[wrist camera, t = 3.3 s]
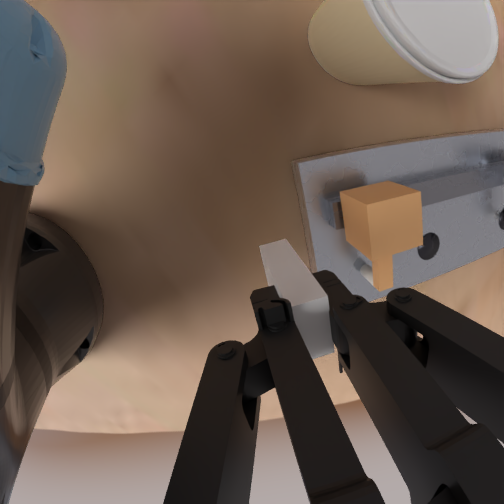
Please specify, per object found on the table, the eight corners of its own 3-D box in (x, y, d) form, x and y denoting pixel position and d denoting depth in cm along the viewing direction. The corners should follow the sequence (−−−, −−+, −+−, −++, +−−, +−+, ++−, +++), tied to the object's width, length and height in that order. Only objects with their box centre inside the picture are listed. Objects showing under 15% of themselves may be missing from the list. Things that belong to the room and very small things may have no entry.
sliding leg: (344, 282, 25) (374, 317, 20) (331, 188, 23) (366, 204, 17) (386, 268, 26) (422, 298, 21) (378, 177, 23) (420, 191, 18)
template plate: (316, 305, 29) (350, 358, 21) (290, 160, 24) (328, 173, 17) (506, 235, 30) (551, 259, 23) (505, 128, 25) (558, 137, 18)
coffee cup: (416, 59, 22) (518, 41, 11) (351, 117, 23) (453, 117, 12) (348, -22, 19) (427, -83, 7) (271, 30, 20) (327, -42, 9)
